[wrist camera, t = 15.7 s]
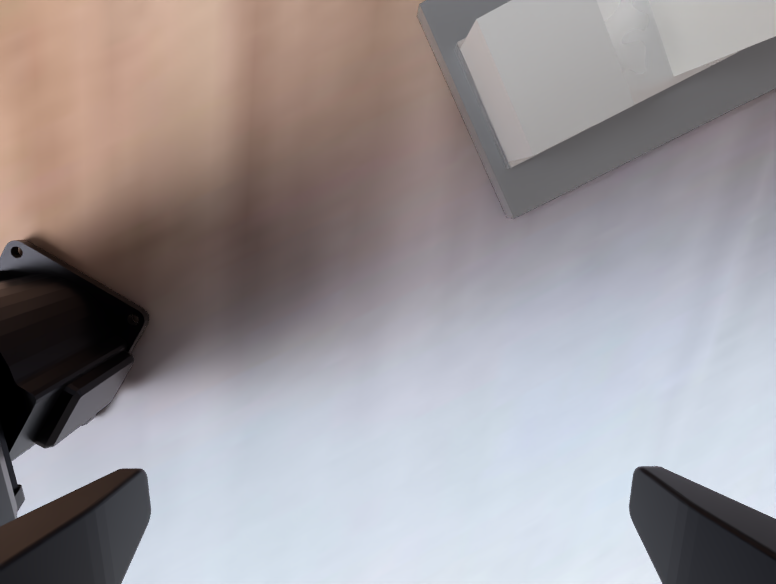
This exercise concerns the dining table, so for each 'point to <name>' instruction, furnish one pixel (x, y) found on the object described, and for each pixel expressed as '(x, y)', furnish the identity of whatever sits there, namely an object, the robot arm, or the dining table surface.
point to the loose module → (710, 28)
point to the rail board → (601, 137)
